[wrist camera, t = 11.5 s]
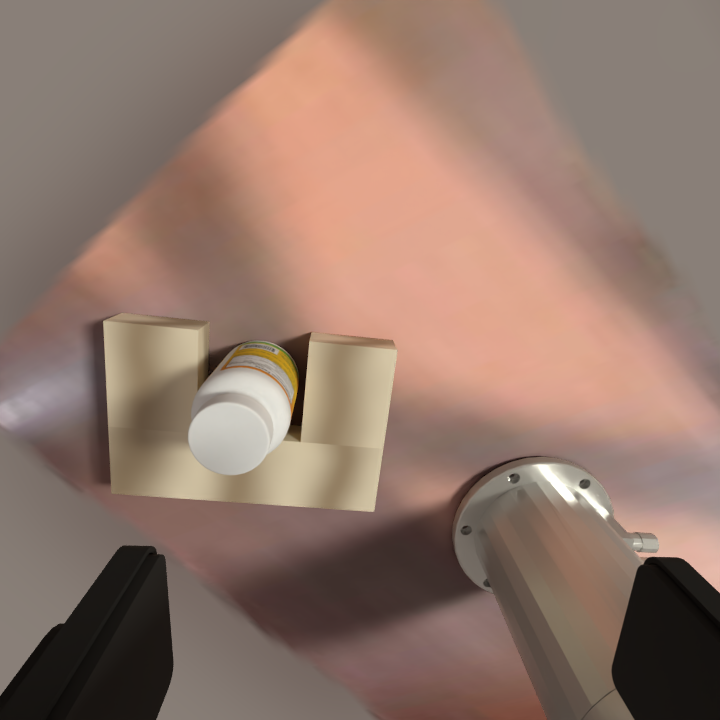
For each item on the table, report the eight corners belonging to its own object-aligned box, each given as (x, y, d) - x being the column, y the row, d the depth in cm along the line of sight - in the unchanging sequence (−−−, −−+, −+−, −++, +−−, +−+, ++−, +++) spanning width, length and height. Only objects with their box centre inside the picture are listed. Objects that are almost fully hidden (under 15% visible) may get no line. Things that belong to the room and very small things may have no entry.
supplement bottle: (253, 425, 32) (218, 507, 23) (205, 366, 31) (148, 427, 21) (315, 386, 31) (306, 453, 22) (269, 323, 30) (239, 367, 21)
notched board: (392, 340, 31) (397, 350, 28) (371, 491, 34) (374, 511, 32) (122, 312, 29) (103, 320, 27) (127, 473, 33) (111, 493, 30)
